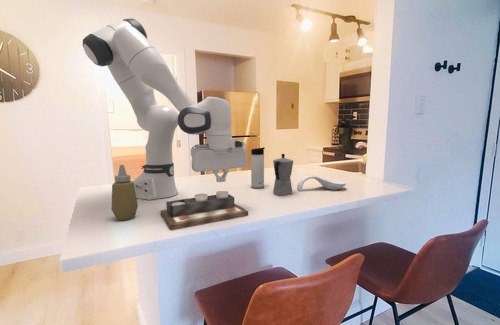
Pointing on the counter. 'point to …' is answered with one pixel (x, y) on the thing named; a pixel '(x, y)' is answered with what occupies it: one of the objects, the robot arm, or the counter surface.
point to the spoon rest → (322, 183)
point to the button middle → (201, 197)
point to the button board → (201, 212)
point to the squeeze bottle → (123, 196)
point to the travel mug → (257, 168)
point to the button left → (177, 203)
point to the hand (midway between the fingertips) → (221, 181)
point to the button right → (222, 194)
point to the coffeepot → (282, 176)
